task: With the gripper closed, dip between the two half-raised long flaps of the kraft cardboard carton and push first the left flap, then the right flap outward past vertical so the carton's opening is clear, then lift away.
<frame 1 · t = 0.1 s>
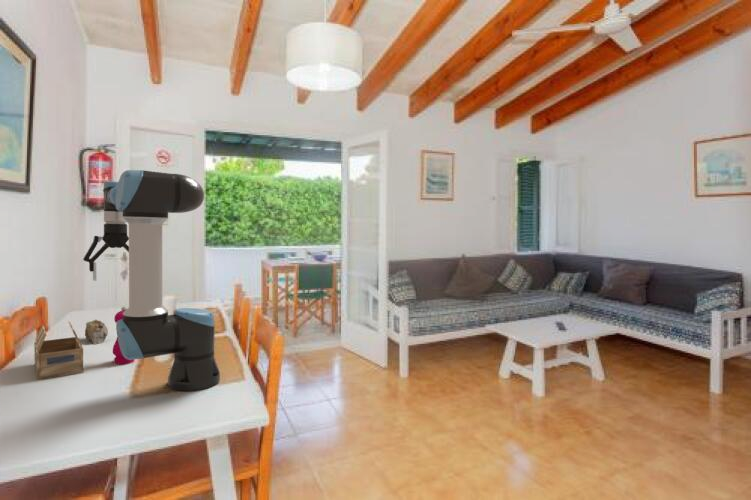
hand: (115, 279, 163), 28 cm above the table, fingers open, 13 cm apart
rock: (96, 340, 180), on the table
carton: (58, 368, 145), on the table
flap right: (74, 333, 147), point 11 cm above the table, hinge at 70.0°
flap left: (40, 337, 141), point 11 cm above the table, hinge at 70.0°
pepper mill: (124, 362, 154), on the table
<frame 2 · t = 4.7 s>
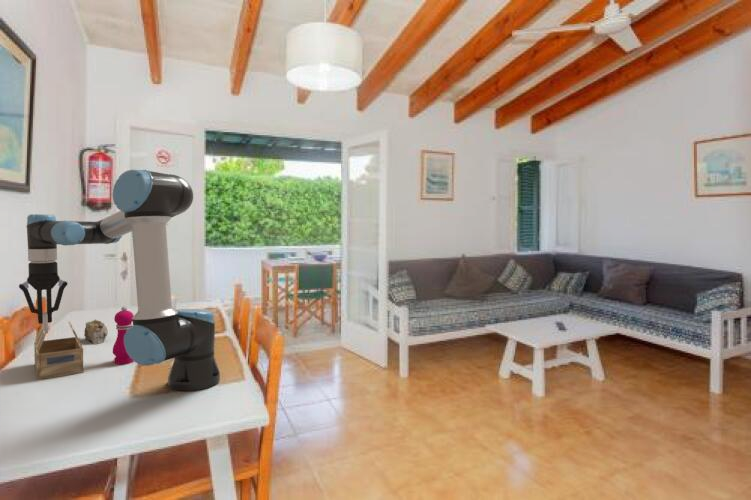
hand: (45, 332, 142), 13 cm above the table, fingers closed
flap left: (40, 337, 141), point 11 cm above the table, hinge at 71.7°, touching gripper
everything else where it was.
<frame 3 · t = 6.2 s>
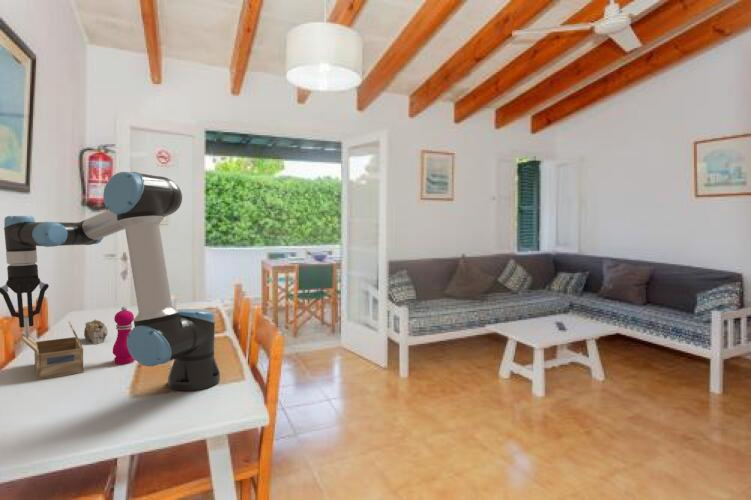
hand: (27, 336, 139), 12 cm above the table, fingers closed
flap left: (29, 340, 139), point 11 cm above the table, hinge at 127.4°, touching gripper
everything else where it was.
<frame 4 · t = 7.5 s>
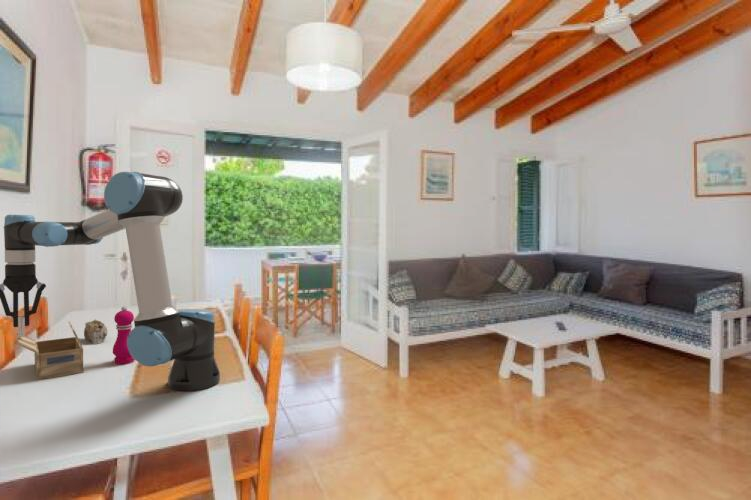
hand: (21, 336, 138), 12 cm above the table, fingers closed
flap left: (26, 342, 139), point 10 cm above the table, hinge at 142.1°, touching gripper
everything else where it was.
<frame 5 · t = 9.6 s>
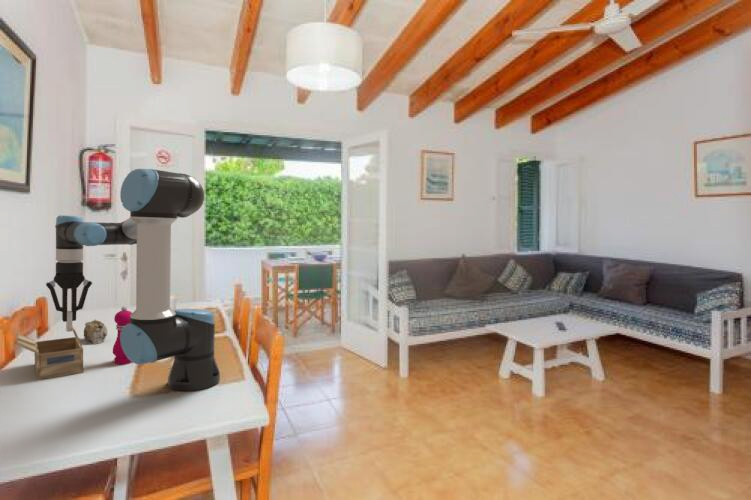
hand: (69, 330, 146), 13 cm above the table, fingers closed
flap right: (75, 333, 147), point 11 cm above the table, hinge at 71.7°, touching gripper
flap left: (26, 342, 139), point 10 cm above the table, hinge at 144.0°
everything else where it was.
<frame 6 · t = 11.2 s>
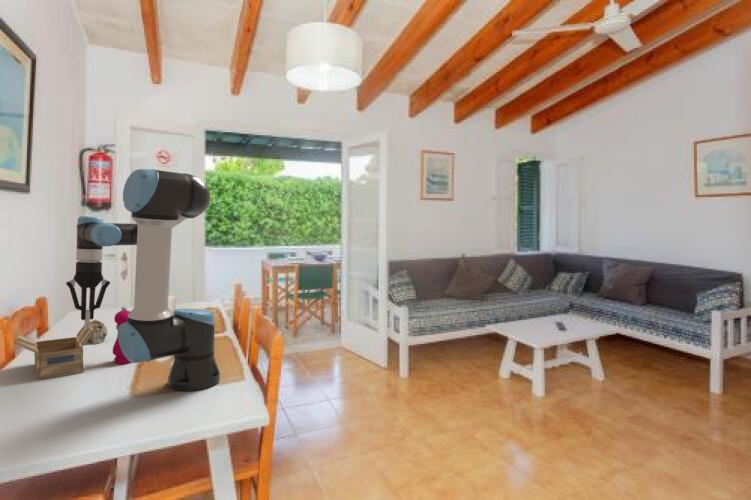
hand: (86, 328, 149), 12 cm above the table, fingers closed
flap right: (84, 333, 149), point 11 cm above the table, hinge at 125.1°, touching gripper
everything else where it was.
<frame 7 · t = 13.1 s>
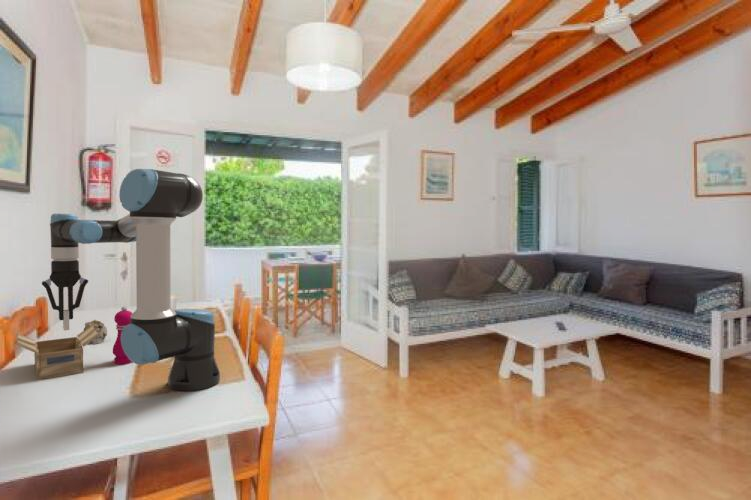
hand: (66, 329, 146), 13 cm above the table, fingers closed
flap right: (87, 335, 150), point 10 cm above the table, hinge at 146.3°
everything else where it was.
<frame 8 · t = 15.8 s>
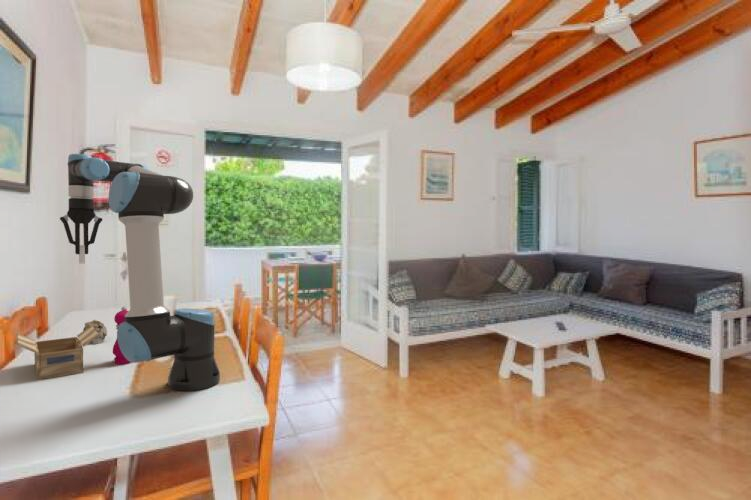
hand: (81, 263, 157), 34 cm above the table, fingers closed
flap right: (87, 335, 150), point 10 cm above the table, hinge at 147.2°
everything else where it was.
at the end: flap left at +144° (first picture: +70°); flap right at +147° (first picture: +70°) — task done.
